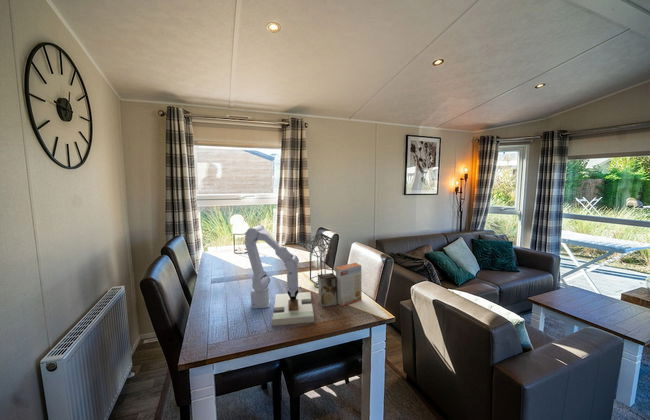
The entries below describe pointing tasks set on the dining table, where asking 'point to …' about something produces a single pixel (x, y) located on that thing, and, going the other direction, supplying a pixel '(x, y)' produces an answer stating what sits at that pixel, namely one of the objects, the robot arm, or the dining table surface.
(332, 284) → the coffee box
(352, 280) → the cracker box
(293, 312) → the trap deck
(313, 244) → the geometric lantern
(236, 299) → the dining table surface
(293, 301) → the walnut block
